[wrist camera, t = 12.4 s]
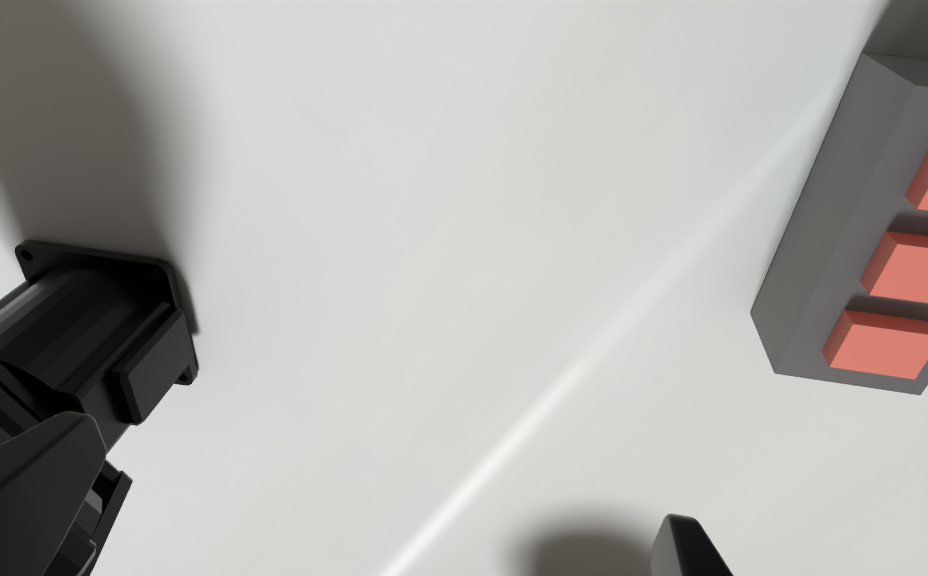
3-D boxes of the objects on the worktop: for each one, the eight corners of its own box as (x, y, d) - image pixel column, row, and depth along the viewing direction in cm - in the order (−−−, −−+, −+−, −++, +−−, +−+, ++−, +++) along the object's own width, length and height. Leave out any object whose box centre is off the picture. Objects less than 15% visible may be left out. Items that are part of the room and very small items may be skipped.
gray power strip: (877, 331, 21) (931, 411, 18) (750, 313, 22) (781, 388, 19) (1031, 71, 16) (1143, 118, 13) (861, 52, 17) (930, 94, 14)
